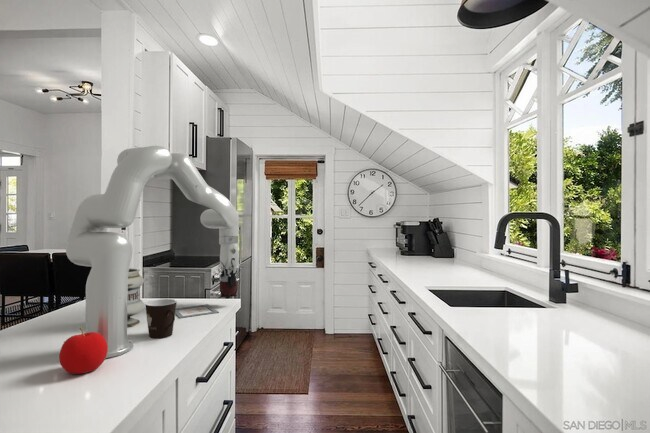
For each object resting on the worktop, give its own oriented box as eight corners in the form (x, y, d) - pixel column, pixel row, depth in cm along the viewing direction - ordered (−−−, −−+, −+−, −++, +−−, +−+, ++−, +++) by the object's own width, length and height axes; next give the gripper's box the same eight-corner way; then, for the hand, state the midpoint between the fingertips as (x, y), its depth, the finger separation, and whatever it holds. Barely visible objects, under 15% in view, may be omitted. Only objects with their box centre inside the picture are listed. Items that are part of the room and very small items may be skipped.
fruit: (99, 359, 88) (99, 319, 88) (113, 369, 82) (114, 326, 82) (54, 371, 81) (54, 328, 81) (65, 383, 75) (66, 336, 75)
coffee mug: (145, 332, 108) (145, 300, 108) (175, 329, 112) (176, 298, 112) (143, 345, 98) (144, 309, 98) (177, 341, 101) (177, 306, 101)
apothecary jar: (111, 332, 108) (112, 274, 108) (95, 324, 115) (96, 270, 115) (150, 323, 118) (151, 269, 118) (133, 317, 125) (134, 266, 125)
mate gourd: (236, 294, 146) (237, 258, 146) (238, 298, 138) (239, 260, 138) (217, 295, 143) (218, 258, 143) (219, 299, 136) (219, 260, 136)
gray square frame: (179, 318, 124) (179, 317, 124) (171, 309, 135) (171, 308, 135) (218, 312, 132) (218, 311, 132) (207, 304, 143) (207, 304, 143)
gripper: (246, 241, 136) (245, 287, 136) (230, 239, 150) (229, 280, 150) (227, 242, 132) (226, 289, 132) (212, 239, 146) (212, 282, 146)
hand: (228, 284), depth 141 cm, fingers closed on mate gourd, 7 cm apart
